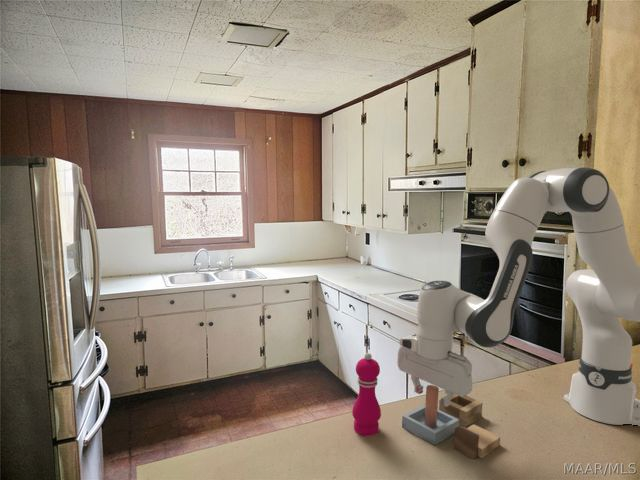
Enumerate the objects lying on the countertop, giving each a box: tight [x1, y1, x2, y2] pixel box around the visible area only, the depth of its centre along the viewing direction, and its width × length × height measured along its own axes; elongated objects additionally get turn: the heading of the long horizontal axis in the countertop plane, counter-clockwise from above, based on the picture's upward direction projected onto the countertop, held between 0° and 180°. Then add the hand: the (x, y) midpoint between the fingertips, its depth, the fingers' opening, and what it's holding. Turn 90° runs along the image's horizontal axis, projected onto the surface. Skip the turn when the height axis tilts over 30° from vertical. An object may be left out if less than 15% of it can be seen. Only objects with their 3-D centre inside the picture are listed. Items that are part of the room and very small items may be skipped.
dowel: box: [424, 384, 440, 428], centre depth 106 cm, size 3×3×10 cm
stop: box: [453, 425, 479, 459], centre depth 97 cm, size 2×5×5 cm, turn 39°
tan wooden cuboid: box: [466, 424, 501, 459], centre depth 100 cm, size 8×7×2 cm
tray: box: [401, 404, 460, 446], centre depth 106 cm, size 10×10×3 cm
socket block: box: [438, 394, 483, 427], centre depth 113 cm, size 8×8×4 cm
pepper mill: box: [351, 352, 382, 437], centre depth 105 cm, size 7×7×20 cm
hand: (431, 398), depth 105 cm, fingers open, 7 cm apart
